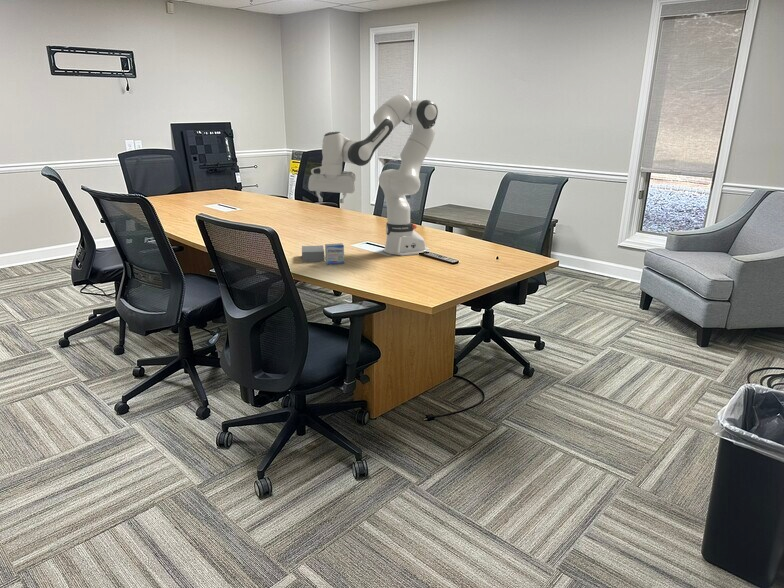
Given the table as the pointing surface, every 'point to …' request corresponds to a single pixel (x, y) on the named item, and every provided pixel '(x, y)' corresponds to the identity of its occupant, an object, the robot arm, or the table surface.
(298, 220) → the table surface
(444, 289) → the table surface
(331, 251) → the medicine box
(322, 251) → the slate block
